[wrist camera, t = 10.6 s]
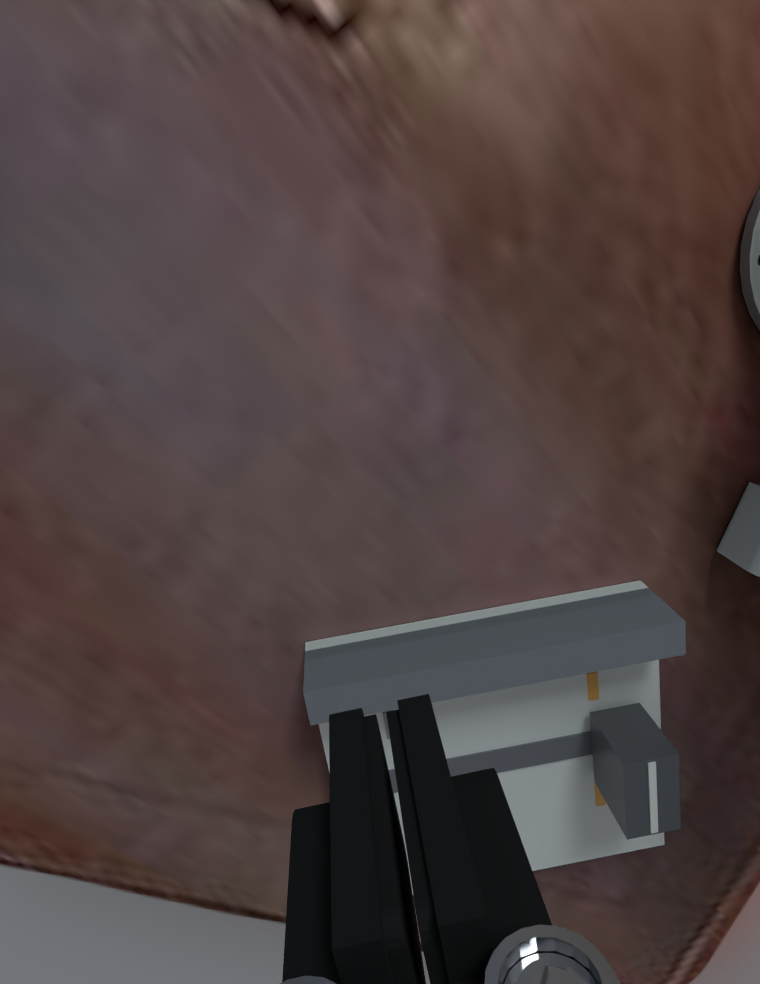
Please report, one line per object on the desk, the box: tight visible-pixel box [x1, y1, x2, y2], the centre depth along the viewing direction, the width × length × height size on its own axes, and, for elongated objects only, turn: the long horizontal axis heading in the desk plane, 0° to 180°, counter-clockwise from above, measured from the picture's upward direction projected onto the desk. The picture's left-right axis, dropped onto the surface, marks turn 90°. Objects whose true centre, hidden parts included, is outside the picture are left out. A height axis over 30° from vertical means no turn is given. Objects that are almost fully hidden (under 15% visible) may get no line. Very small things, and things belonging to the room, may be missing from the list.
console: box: [303, 581, 686, 894], centre depth 38 cm, size 20×18×5 cm
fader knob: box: [590, 703, 681, 840], centre depth 36 cm, size 3×5×4 cm, turn 9°
